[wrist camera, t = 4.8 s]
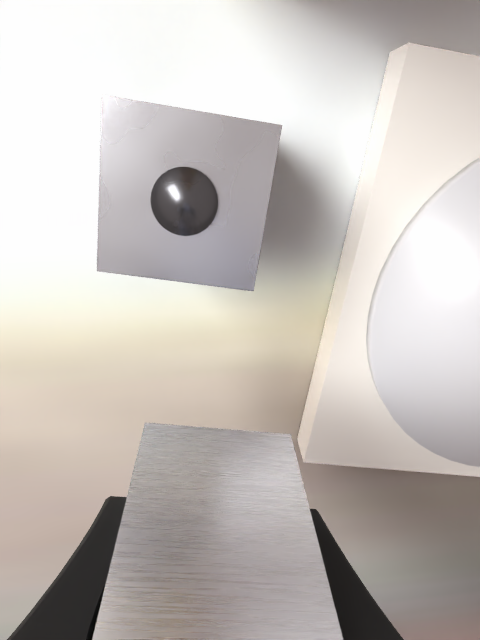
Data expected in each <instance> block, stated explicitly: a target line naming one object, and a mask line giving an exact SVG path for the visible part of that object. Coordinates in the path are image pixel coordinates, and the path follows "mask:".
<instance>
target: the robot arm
mask: <svg viewBox="0 0 480 640" xmlns="http://www.w3.org/2000/svg"><path fill="white" fill-rule="evenodd" d="M126 499H127V497H114V496H110V497H109V498H107V499H106V500H105V502H104V504H103V506H102V508H101V510H100V512H99V514H98V515H97V517H96V519H95V521H94V522H93V524H92V526H91V527H90V529H89V530H88V532H87V534H86V535H85V537H84V538H83V540H82V541H81V543H80V545H79V546H78V548H77V549H76V550H75V552H74V553H73V555H72V556H71V558H70V559H69V561H68V562H67V563H66V565H65V566H64V568H63V569H62V571H61V572H60V573H59V575H58V576H57V578H56V579H55V580H54V582H53V583H52V584H51V586H50V587H49V588H48V589H47V591H46V592H45V593H44V595H43V596H42V597H41V599H40V600H39V601H38V602H37V604H36V605H35V606H34V608H33V609H32V610H31V612H30V613H29V614H28V615H27V616H26V618H25V619H24V620H23V621H22V623H21V624H20V625H19V626H18V627H17V629H16V630H15V631H14V632H13V633H12V635H11V636H10V637H9V638H8V639H7V640H92V638H93V634H94V630H95V626H96V622H97V618H98V614H99V609H100V605H101V601H102V597H103V593H104V589H105V585H106V581H107V577H108V573H109V568H110V564H111V560H112V556H113V552H114V548H115V544H116V540H117V536H118V532H119V527H120V523H121V519H122V515H123V511H124V507H125V503H126ZM310 512H311V516H312V520H313V524H314V527H315V531H316V535H317V539H318V543H319V547H320V551H321V555H322V559H323V563H324V566H325V570H326V574H327V578H328V582H329V586H330V590H331V594H332V598H333V602H334V605H335V609H336V613H337V617H338V621H339V625H340V629H341V633H342V637H343V640H403V638H402V637H401V636H400V634H399V633H398V632H397V630H396V629H395V628H394V626H393V625H392V624H391V622H390V621H389V620H388V618H387V617H386V616H385V614H384V613H383V612H382V610H381V609H380V608H379V606H378V605H377V603H376V602H375V600H374V599H373V598H372V596H371V595H370V593H369V592H368V590H367V589H366V587H365V586H364V584H363V583H362V581H361V580H360V578H359V577H358V575H357V574H356V573H355V571H354V570H353V568H352V566H351V565H350V563H349V562H348V560H347V559H346V557H345V555H344V554H343V552H342V551H341V549H340V547H339V546H338V544H337V543H336V541H335V539H334V538H333V536H332V534H331V533H330V531H329V529H328V528H327V526H326V524H325V523H324V521H323V519H322V517H321V516H320V514H319V512H318V511H317V510H316V509H310Z"/></svg>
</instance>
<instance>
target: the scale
mask: <svg viewBox="0 0 480 640" xmlns="http://www.w3.org/2000/svg"><path fill="white" fill-rule="evenodd" d="M297 441H298V445H299V448H300V452H301V456H302V459H303V462H304V463H316V464H328V465H341V466H353V467H365V468H377V469H390V470H402V471H414V472H426V473H438V474H451V475H463V476H475V477H480V56H477V55H472V54H466V53H461V52H456V51H451V50H445V49H440V48H435V47H430V46H424V45H419V44H414V43H408V44H405V45H403V46H401V47H399V48H397V49H395V50H393V51H391V52H390V53H389V57H388V62H387V66H386V70H385V74H384V78H383V82H382V87H381V91H380V95H379V99H378V103H377V107H376V112H375V116H374V120H373V124H372V128H371V133H370V137H369V141H368V145H367V149H366V153H365V158H364V162H363V166H362V170H361V174H360V178H359V183H358V187H357V191H356V195H355V199H354V204H353V208H352V212H351V216H350V220H349V224H348V229H347V233H346V237H345V241H344V245H343V249H342V254H341V258H340V262H339V266H338V270H337V275H336V279H335V283H334V287H333V291H332V295H331V300H330V304H329V308H328V312H327V316H326V320H325V325H324V329H323V333H322V337H321V341H320V346H319V350H318V354H317V358H316V362H315V366H314V371H313V375H312V379H311V383H310V387H309V391H308V396H307V400H306V404H305V408H304V412H303V416H302V421H301V425H300V429H299V433H298V437H297Z"/></svg>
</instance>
